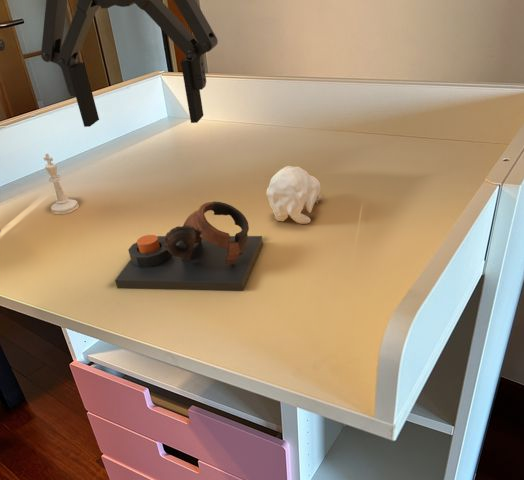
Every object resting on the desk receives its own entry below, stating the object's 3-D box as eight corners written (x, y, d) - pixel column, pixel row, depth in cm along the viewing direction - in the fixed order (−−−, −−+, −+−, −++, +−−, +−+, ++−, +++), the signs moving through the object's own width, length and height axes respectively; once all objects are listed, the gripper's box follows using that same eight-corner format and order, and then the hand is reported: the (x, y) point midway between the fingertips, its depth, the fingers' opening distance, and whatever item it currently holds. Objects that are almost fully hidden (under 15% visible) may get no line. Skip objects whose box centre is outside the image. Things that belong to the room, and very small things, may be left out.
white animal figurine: (261, 171, 83) (294, 151, 91) (265, 227, 87) (296, 202, 96) (301, 174, 80) (331, 153, 89) (302, 231, 85) (331, 205, 94)
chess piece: (65, 216, 100) (46, 160, 94) (45, 212, 102) (25, 158, 96) (84, 204, 103) (67, 150, 97) (65, 201, 106) (47, 148, 99)
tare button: (136, 254, 80) (133, 244, 79) (143, 244, 82) (141, 234, 81) (155, 254, 79) (153, 244, 78) (163, 244, 81) (160, 234, 80)
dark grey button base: (117, 288, 78) (111, 270, 76) (150, 244, 88) (146, 226, 86) (242, 291, 74) (239, 271, 72) (263, 244, 84) (260, 225, 82)
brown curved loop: (211, 235, 86) (230, 192, 80) (246, 279, 82) (268, 237, 77) (143, 247, 78) (159, 200, 72) (179, 296, 75) (198, 251, 69)
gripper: (227, -121, 55) (251, 107, 68) (2, -92, 60) (64, 115, 73) (206, -122, 49) (236, 127, 62) (-41, -90, 54) (35, 134, 67)
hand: (143, 121), depth 68 cm, fingers open, 13 cm apart
